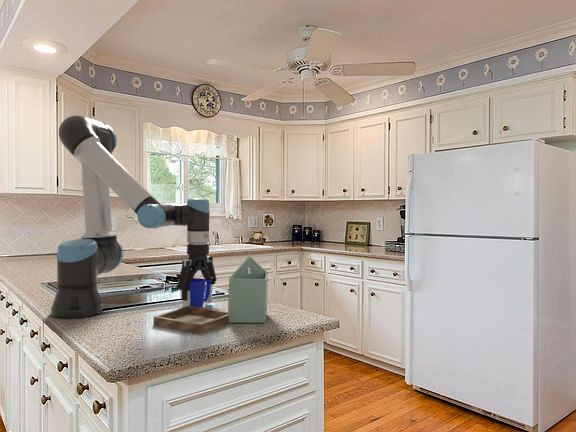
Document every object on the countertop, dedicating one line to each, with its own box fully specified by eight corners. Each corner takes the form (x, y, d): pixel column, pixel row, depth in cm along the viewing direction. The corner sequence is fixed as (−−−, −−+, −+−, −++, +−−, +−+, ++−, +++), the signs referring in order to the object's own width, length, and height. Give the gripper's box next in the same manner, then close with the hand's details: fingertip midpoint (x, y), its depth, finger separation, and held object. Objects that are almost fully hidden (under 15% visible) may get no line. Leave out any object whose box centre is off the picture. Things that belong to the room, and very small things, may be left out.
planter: (244, 328, 129) (246, 261, 128) (227, 322, 135) (229, 258, 134) (282, 317, 142) (284, 256, 141) (265, 312, 147) (267, 254, 146)
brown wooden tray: (153, 325, 131) (153, 316, 131) (188, 313, 145) (188, 305, 145) (201, 334, 123) (202, 325, 123) (233, 321, 137) (234, 312, 137)
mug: (217, 306, 155) (218, 278, 155) (193, 313, 145) (193, 283, 145) (200, 303, 160) (200, 275, 159) (175, 309, 149) (175, 280, 149)
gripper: (183, 247, 139) (183, 315, 140) (226, 241, 160) (226, 300, 161) (165, 245, 143) (165, 312, 144) (210, 239, 164) (209, 297, 165)
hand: (197, 305), depth 153 cm, fingers closed on mug, 11 cm apart
